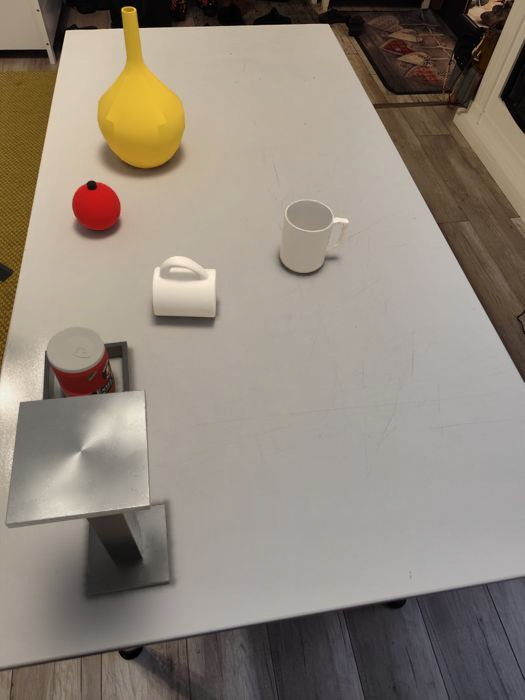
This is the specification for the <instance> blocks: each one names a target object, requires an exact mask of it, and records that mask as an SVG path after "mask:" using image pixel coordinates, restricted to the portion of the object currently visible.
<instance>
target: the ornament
mask: <svg viewBox="0 0 525 700" xmlns="http://www.w3.org/2000/svg"><path fill="white" fill-rule="evenodd" d="M121 205H122V204H121V200H120V198H119V196H118V193H116V191H115V190H114V189H113V188H112V187H110V186H109V185H107V184H105V183H103V182H99V181H95V180H93V179H92V180H91V179H90V180H88V181H87V182H86V183H84V184H82V185H80V186H79V187H78V188H77V190H75V192H74V194H73V196H72V201H71V209H72V212H73V214H74V217H75V218H76V220H77V221H78V222H79V223H80V224H81V225H82V226H84V227H85V228H87V229H90V230H93V231H103V230H107V229H109V228H112V227H113V226H114V225H115V224H116V223H117V222H118V220H119V218H120V216H121V211H122V206H121Z"/></svg>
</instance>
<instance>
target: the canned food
mask: <svg viewBox="0 0 525 700" xmlns="http://www.w3.org/2000/svg"><path fill="white" fill-rule="evenodd" d="M104 344H105V343H104V340H103V339H102V337H101V335H100V333H98V332H96V331H95V330H94V329H91V328H88V327H84V326H72V327H68V328H64V329H62V330H60V331H58V332H57V333H55V334H54V335H53V336H52V337H51V338H50V340H49V341H48V342H47V345H46V350H47V357H48V360H49V362H50V365H51V367H52V369H53V371H54V377H56V380H57V382H58V384H59V387H60V389H61V391H62V393H63V395H64V398H66V397H76V396H86V395H96V394H106V393H115V389H116V381H115V376H114V372H113V370H112V366H111V363H110V358H108V355H107V351H106V348H105V345H104Z"/></svg>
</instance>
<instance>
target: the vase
mask: <svg viewBox="0 0 525 700" xmlns="http://www.w3.org/2000/svg"><path fill="white" fill-rule="evenodd" d="M121 18H122V28H123V36H124V47H125V53H126V60H125V61H126V62H125V64H124V68H123V70H122V71H121V72H120V74H119V75H118V76H117V78H116V79H114V82H113V83H112V84H111V85H110V87H108V88H107V90H106V91H105V92H104V93H103V94H102V95H101V96H100V98H99V100H98V102H97V114H96V115H97V116H96V117H97V118H96V119H97V123H98V128H99V130H100V133H101V135H102V137H103V138H104V141H105V142H106V144H107V146H108V147H109V149H110V150H111V151H112V152H113V153H114V154H115V155H116V156H117V157H118V158H119V159H120V160H121V161H122V162H125V163H126V164H129V165H130V166H132V167H135V168H138V169H153V168H157V167H160V166H163V164H165V163H166V162H168V161H169V160H171V158H173V156H174V155H175V153H176V152H177V150H179V148H180V145H181V142H182V140H183V139H182V138H183V135H184V133H185V129H186V115H185V109H184V105H183V102H182V100H181V98H180V96H179V95H177V94H176V92H174V91H173V90H172V89H170V88H169V87H168V86H167V85H166V84H165V83H164V82H162V80H161V79H159V78H158V77H157V76H156V75H155V74H154V73H153V72H152V71H151V70H150V69H149V67H148V66H147V64H146V63H145V60H144V58H143V51H142V42H141V34H140V27H139V21H138V13H137V9H136V8H135V7H134V6H124V7H122V8H121Z"/></svg>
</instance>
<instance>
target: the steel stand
mask: <svg viewBox="0 0 525 700" xmlns="http://www.w3.org/2000/svg"><path fill="white" fill-rule="evenodd" d="M147 401H148V400H147V392H146V389H136V390H132V391H126V392H124V391H117V392H116V391H115V392H113V393H106V394H96V395H86V396H76V397H58V398H57V397H56V398H54V399H46V400H43V399H36V400H28V401H26V400H25V401H19V403H18V412H17V413H18V414H17V422H16V430H15V439H14V447H13V453H12V455H13V456H12V463H11V472H10V480H9V489H8V495H7V496H8V497H7V506H6V513H5V521H4V522H5V523H4V525H5V526H6V527H7V528H8V529H15V528H23V527H30V526H31V527H32V526H39V525H45V524H52V523H53V524H54V523H59V522H60V523H61V522H67V521H74V520H83V519H86V520H87V522H88V524H89V525H88V552H87V553H88V555H87V556H88V557H87V558H88V559H87V590H86V591H87V592H86V593H87V595H88V596H93V595H100V594H107V593H112V592H119V591H125V590H132V589H137V588H145V587H151V586H156V585H157V586H158V585H163V584H169V583H171V577H170V558H169V539H168V523H167V522H168V521H167V508H166V506H167V505H166V503H160V504H152V502H151V501H152V500H151V499H152V498H151V479H150V478H151V476H150V474H151V473H150V454H149V453H150V450H149V449H150V448H149V429H148V426H149V425H148V402H147Z"/></svg>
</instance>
